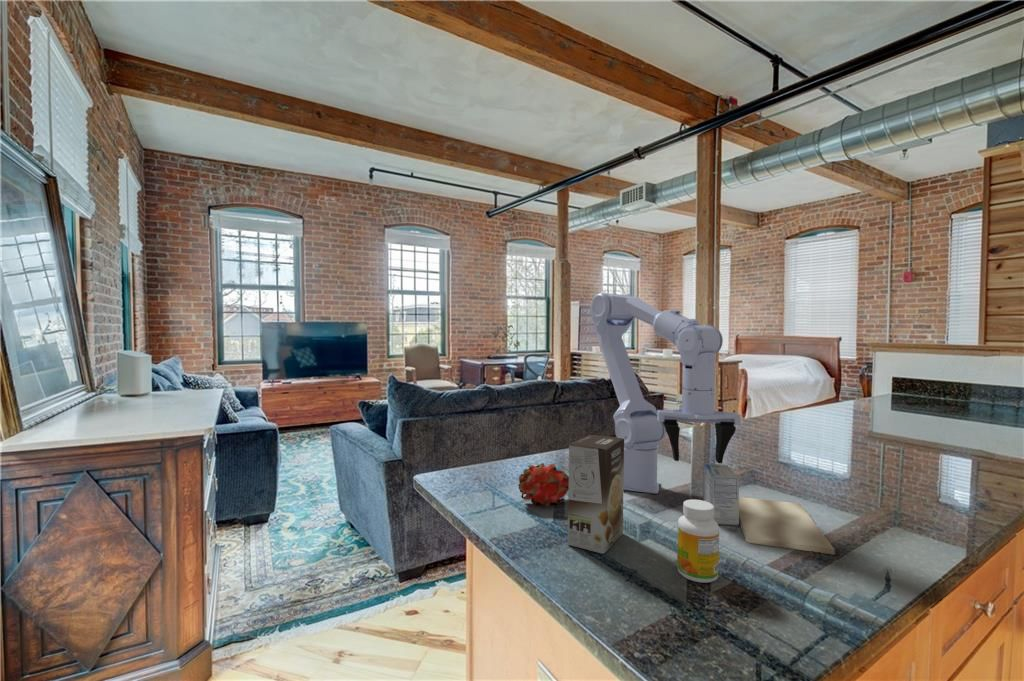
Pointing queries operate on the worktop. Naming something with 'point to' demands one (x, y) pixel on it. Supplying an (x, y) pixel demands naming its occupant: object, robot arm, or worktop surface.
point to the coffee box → (595, 492)
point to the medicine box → (722, 493)
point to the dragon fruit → (543, 484)
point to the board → (781, 525)
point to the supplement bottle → (698, 542)
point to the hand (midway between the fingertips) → (697, 460)
